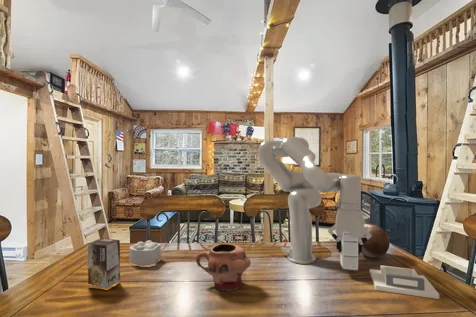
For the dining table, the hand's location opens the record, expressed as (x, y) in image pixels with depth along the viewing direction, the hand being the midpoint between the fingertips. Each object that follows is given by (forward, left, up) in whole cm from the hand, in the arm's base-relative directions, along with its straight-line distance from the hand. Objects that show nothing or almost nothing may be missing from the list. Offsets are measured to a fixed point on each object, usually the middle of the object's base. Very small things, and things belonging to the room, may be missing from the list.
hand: (348, 252), depth 98 cm
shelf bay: (+17, -2, -9) cm, 19 cm away
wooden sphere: (+11, +24, -9) cm, 27 cm away
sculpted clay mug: (-43, -23, -9) cm, 50 cm away
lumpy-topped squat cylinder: (-85, -15, -9) cm, 87 cm away
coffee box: (-84, -37, -9) cm, 93 cm away
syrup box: (0, 0, -6) cm, 6 cm away
